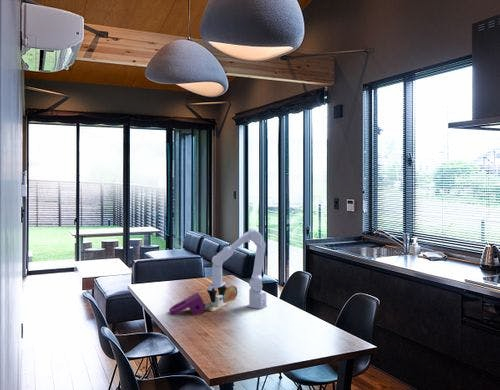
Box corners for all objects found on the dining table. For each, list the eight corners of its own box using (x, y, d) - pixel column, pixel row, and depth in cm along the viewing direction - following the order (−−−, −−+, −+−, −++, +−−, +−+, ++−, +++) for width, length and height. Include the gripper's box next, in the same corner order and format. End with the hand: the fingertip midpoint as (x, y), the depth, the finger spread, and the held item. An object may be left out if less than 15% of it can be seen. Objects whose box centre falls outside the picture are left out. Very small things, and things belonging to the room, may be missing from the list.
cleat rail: (227, 305, 267) (227, 300, 267) (212, 311, 255) (212, 305, 255) (218, 303, 270) (218, 298, 270) (203, 309, 258) (203, 303, 258)
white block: (224, 305, 262) (224, 295, 262) (219, 306, 258) (219, 297, 258) (216, 303, 265) (216, 294, 265) (211, 305, 261) (211, 295, 261)
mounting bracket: (177, 326, 246) (207, 310, 251) (170, 313, 245) (200, 296, 249) (174, 321, 255) (203, 305, 260) (168, 308, 254) (197, 292, 258)
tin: (221, 303, 272) (221, 289, 272) (217, 302, 274) (217, 288, 274) (237, 298, 284) (237, 284, 284) (233, 297, 286) (233, 284, 286)
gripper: (219, 273, 270) (219, 297, 270) (203, 278, 258) (203, 302, 258) (229, 275, 266) (228, 298, 266) (213, 279, 254) (213, 304, 254)
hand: (217, 300), depth 262 cm, fingers open, 7 cm apart
